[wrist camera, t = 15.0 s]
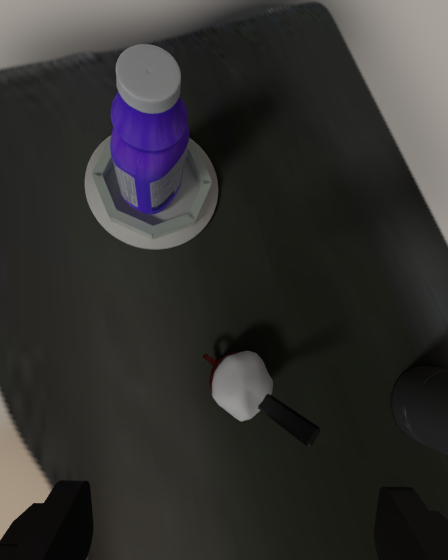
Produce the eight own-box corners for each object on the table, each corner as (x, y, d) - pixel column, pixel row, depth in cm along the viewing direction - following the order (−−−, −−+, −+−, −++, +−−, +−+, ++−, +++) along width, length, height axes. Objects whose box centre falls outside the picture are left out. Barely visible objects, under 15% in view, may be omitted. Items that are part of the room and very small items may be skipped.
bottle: (148, 150, 38) (140, 6, 21) (190, 177, 38) (215, 59, 21) (112, 198, 36) (71, 86, 19) (156, 226, 37) (154, 140, 20)
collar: (189, 114, 40) (191, 101, 38) (236, 224, 39) (241, 218, 37) (65, 147, 36) (59, 134, 34) (115, 269, 36) (112, 265, 33)
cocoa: (191, 359, 36) (198, 371, 25) (238, 330, 38) (266, 329, 26) (234, 434, 36) (262, 484, 24) (280, 402, 37) (328, 435, 25)
